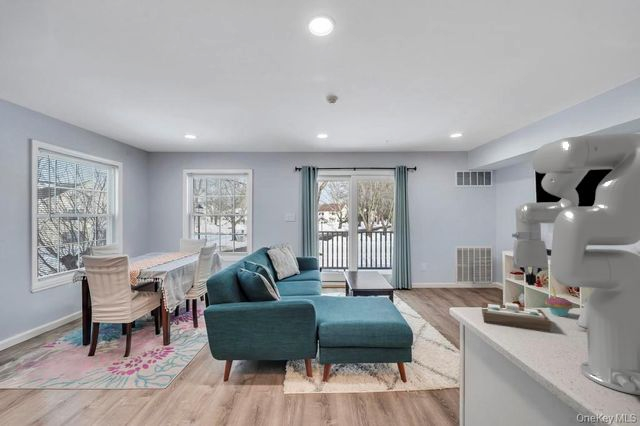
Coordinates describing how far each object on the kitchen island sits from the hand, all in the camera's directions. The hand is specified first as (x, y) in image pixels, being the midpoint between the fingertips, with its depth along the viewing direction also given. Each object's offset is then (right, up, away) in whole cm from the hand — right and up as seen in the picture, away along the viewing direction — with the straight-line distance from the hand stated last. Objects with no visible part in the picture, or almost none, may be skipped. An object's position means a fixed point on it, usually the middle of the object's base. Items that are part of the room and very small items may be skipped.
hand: (531, 284), depth 103 cm
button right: (0, -12, 0) cm, 12 cm away
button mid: (-5, -11, +3) cm, 13 cm away
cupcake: (+19, -15, +9) cm, 25 cm away
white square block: (-10, -13, +6) cm, 17 cm away
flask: (+18, -15, -5) cm, 24 cm away
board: (-6, -15, +2) cm, 16 cm away
